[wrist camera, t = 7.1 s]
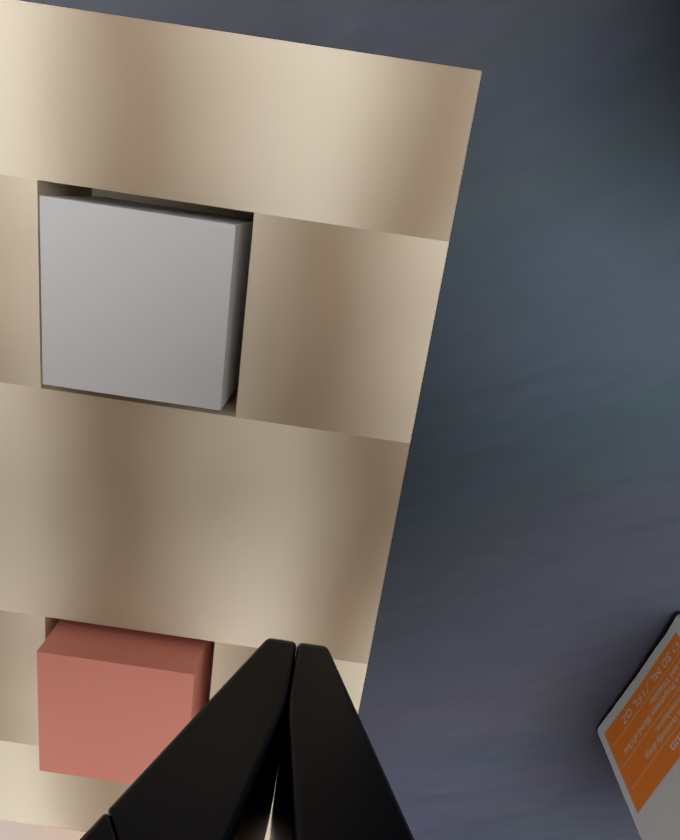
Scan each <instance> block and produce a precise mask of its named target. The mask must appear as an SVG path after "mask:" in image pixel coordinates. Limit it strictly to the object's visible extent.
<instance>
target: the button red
mask: <svg viewBox="0 0 680 840" xmlns="http://www.w3.org/2000/svg"><path fill="white" fill-rule="evenodd" d="M214 646H215V642H213V641H207V640H200V639H193V638H186V637H180V636H173V635H166V634H159V633H152V632H146V631H139V630H132V629H125V628H119V627H112V626H105V625H98V624H91V623H85V622H78V621H71V620H64V619H60V621H59V622H58V623H57V625H56V626H55V628H54V629H53V630H52V632H51V633H50V634H49V636H48V637H47V638H46V640H45V641H44V642H43V644H42V645H41V646H40V648H39V649H38V650H37V685H38V728H39V770H40V771H45V772H52V773H59V774H66V775H73V776H80V777H86V778H93V779H100V780H107V781H114V782H121V783H127V784H132V783H133V782H134V781H135V780H136V779H137V778H138V777H139V776H140V775H141V774H142V772H143V771H144V770H145V769H146V768H147V767H148V766H149V765H150V764H151V763H152V762H153V761H154V760H155V758H156V757H157V756H158V755H159V754H160V753H161V752H162V751H163V750H164V749H165V748H166V747H167V746H168V744H169V743H170V742H171V741H172V740H173V739H174V738H175V737H176V736H177V735H178V734H179V733H180V732H181V731H182V729H183V728H184V727H185V726H186V725H187V724H188V723H189V722H190V721H191V720H192V719H193V718H194V717H195V715H196V714H197V713H198V712H199V711H200V710H201V709H202V708H203V707H204V706H205V705H206V704H207V703H208V701H209V700H210V689H211V678H212V668H213V657H214Z"/></svg>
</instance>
